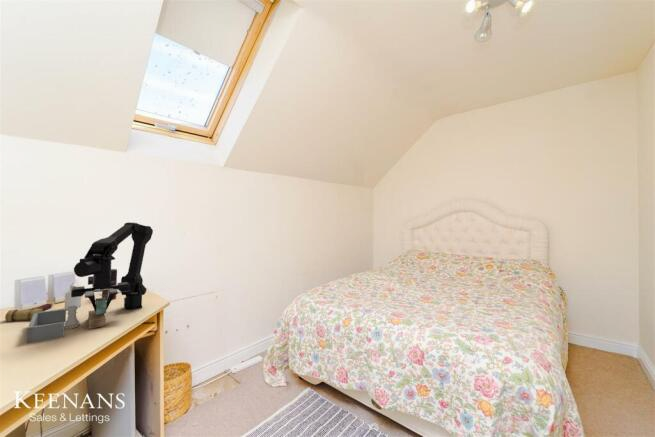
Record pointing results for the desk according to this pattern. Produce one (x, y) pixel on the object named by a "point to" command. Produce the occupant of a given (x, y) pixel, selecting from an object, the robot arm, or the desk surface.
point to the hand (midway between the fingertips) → (101, 310)
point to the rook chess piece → (71, 318)
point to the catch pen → (46, 325)
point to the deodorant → (113, 282)
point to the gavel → (25, 313)
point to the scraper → (98, 314)
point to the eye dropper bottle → (72, 298)
